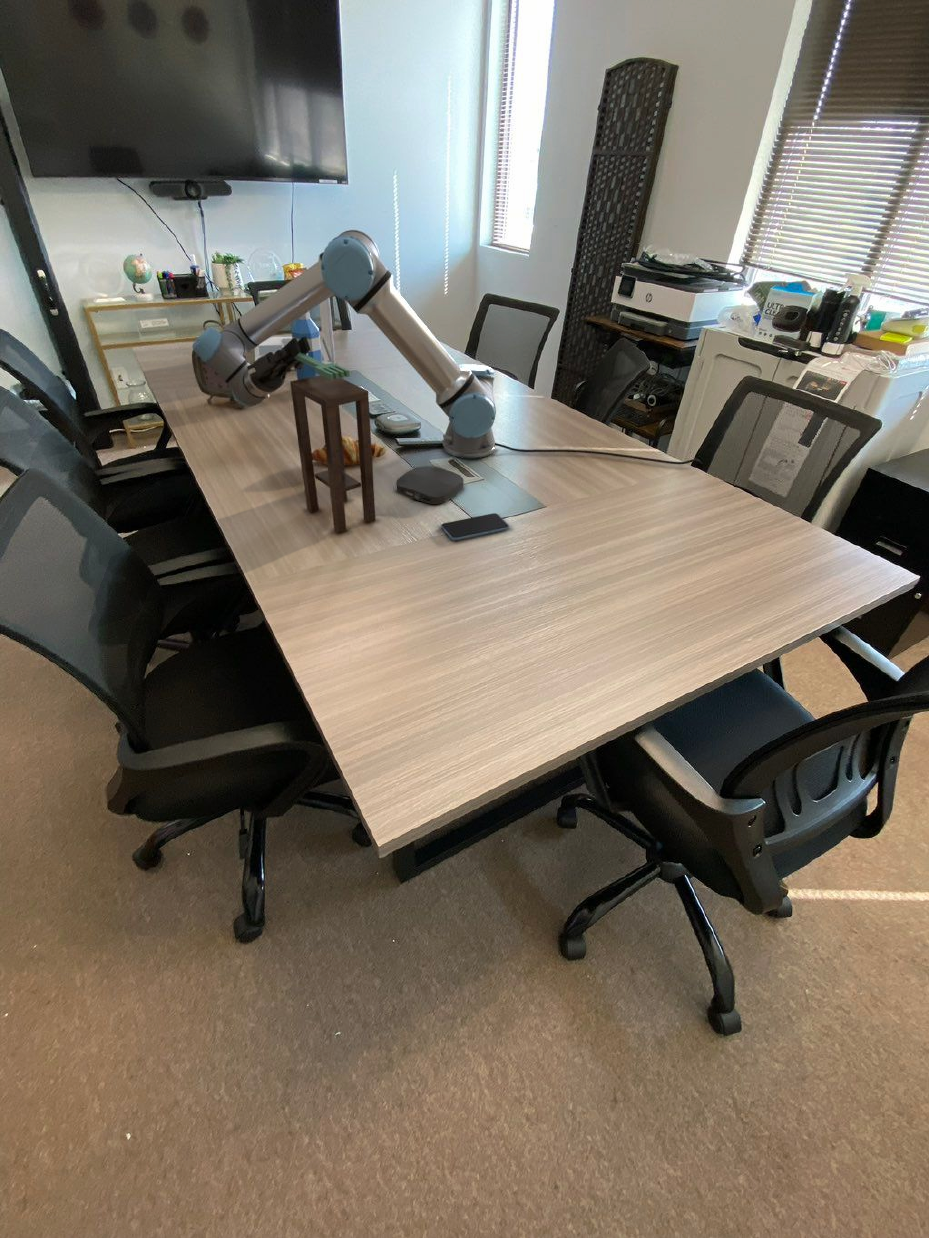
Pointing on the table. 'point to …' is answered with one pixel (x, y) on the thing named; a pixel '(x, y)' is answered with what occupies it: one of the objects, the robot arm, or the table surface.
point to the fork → (324, 367)
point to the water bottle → (311, 332)
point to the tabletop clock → (211, 377)
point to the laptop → (279, 342)
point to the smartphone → (474, 526)
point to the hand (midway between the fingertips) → (301, 344)
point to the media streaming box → (430, 484)
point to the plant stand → (334, 444)
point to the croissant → (348, 452)
